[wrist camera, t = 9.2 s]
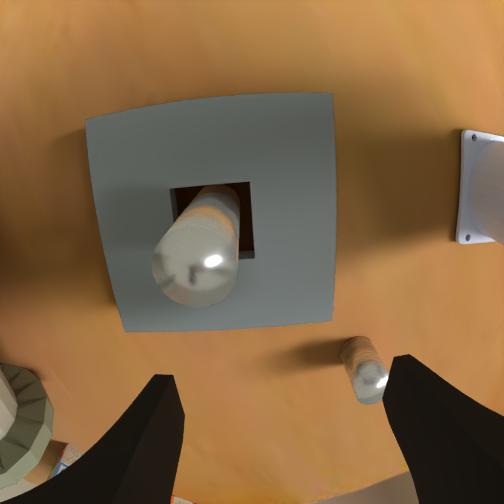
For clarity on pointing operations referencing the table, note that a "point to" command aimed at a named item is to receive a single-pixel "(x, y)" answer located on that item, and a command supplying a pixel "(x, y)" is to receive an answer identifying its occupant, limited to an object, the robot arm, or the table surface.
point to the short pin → (364, 369)
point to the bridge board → (219, 172)
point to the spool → (22, 423)
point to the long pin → (201, 249)
